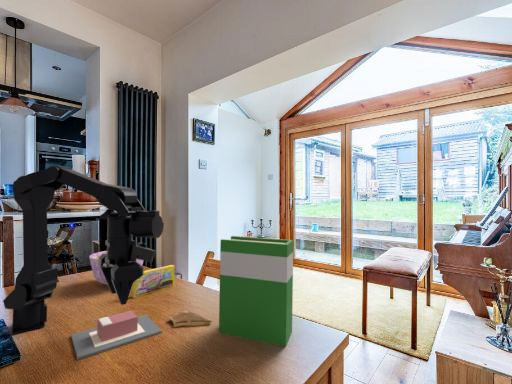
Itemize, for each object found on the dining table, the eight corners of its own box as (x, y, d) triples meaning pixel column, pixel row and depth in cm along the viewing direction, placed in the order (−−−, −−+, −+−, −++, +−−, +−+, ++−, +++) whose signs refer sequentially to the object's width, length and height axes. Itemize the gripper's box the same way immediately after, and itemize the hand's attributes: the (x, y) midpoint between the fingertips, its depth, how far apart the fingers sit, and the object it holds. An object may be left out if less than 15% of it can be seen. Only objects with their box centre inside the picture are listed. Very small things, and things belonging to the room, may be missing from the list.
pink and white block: (137, 330, 67) (137, 316, 67) (102, 341, 62) (102, 326, 62) (131, 323, 71) (131, 309, 71) (97, 333, 66) (97, 318, 66)
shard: (211, 326, 72) (211, 319, 72) (188, 337, 66) (188, 330, 67) (187, 314, 79) (187, 308, 79) (164, 324, 73) (164, 317, 73)
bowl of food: (106, 295, 92) (107, 262, 92) (78, 285, 102) (78, 255, 103) (155, 280, 109) (155, 252, 109) (126, 272, 119) (127, 247, 120)
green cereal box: (218, 333, 68) (220, 239, 68) (230, 320, 75) (232, 235, 76) (285, 346, 62) (287, 244, 63) (292, 331, 69) (293, 240, 70)
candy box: (134, 298, 90) (134, 274, 90) (130, 297, 91) (131, 273, 91) (174, 286, 103) (174, 265, 103) (171, 285, 104) (171, 264, 104)
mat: (77, 359, 56) (77, 357, 56) (70, 336, 65) (71, 334, 65) (161, 332, 68) (161, 330, 68) (146, 316, 77) (146, 314, 77)
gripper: (165, 238, 65) (164, 302, 65) (141, 230, 79) (140, 282, 79) (115, 243, 58) (114, 314, 57) (99, 233, 72) (97, 291, 72)
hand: (118, 298), depth 67 cm, fingers open, 9 cm apart
